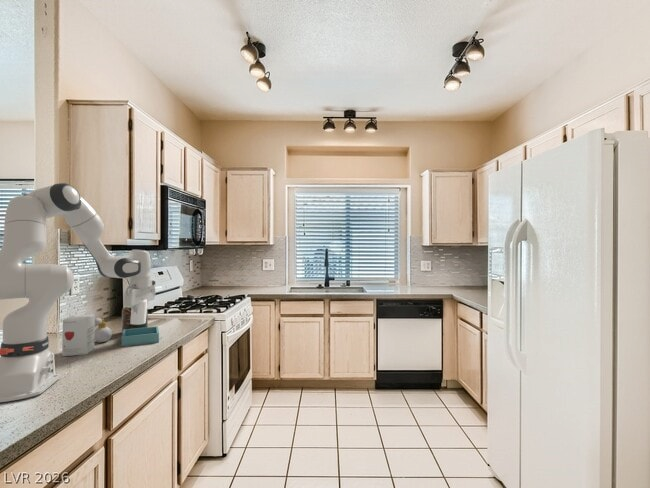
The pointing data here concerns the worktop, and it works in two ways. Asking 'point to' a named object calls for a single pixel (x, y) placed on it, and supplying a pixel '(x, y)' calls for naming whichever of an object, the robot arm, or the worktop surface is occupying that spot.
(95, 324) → the perfume bottle
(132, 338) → the bin
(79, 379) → the worktop surface
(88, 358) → the worktop surface
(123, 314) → the jar
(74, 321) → the supplement box
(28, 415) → the worktop surface
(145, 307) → the can
